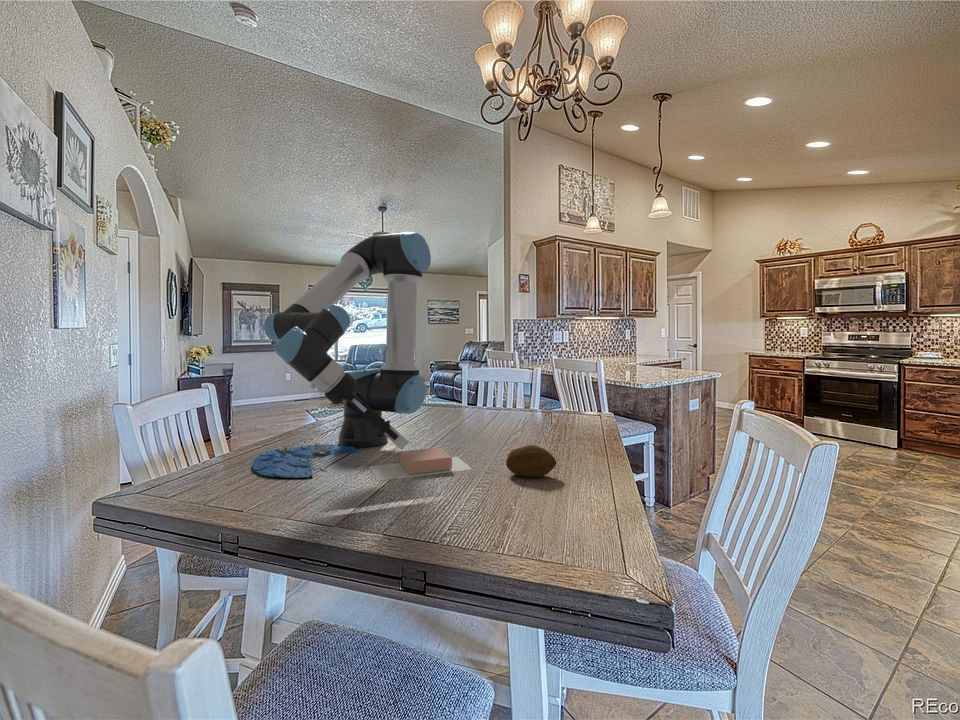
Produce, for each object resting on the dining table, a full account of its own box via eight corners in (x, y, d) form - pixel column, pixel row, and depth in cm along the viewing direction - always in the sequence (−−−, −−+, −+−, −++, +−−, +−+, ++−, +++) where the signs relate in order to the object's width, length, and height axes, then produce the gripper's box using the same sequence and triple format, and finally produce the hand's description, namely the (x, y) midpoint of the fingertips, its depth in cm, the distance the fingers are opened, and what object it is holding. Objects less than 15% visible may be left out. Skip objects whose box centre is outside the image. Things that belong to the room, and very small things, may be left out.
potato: (505, 470, 122) (505, 440, 121) (553, 471, 122) (554, 441, 121) (506, 480, 114) (506, 449, 113) (557, 481, 114) (558, 450, 113)
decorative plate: (382, 454, 142) (382, 437, 142) (343, 487, 113) (344, 466, 112) (288, 446, 145) (289, 430, 145) (227, 477, 116) (227, 456, 115)
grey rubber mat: (369, 469, 122) (369, 466, 122) (456, 459, 131) (456, 456, 131) (377, 484, 111) (377, 480, 111) (472, 472, 120) (472, 469, 120)
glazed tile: (399, 451, 124) (439, 447, 128) (399, 464, 124) (439, 459, 128) (409, 462, 114) (451, 457, 119) (409, 475, 115) (451, 470, 119)
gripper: (320, 390, 116) (388, 450, 124) (325, 398, 104) (400, 464, 112) (342, 368, 118) (408, 428, 126) (349, 373, 106) (421, 440, 114)
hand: (404, 445), depth 119 cm, fingers closed
